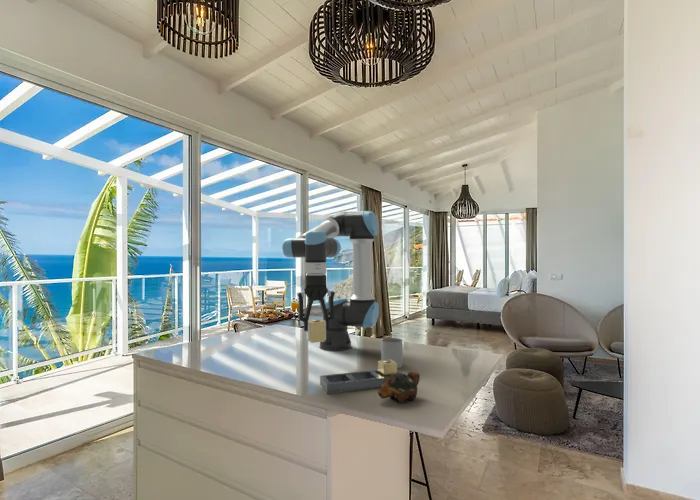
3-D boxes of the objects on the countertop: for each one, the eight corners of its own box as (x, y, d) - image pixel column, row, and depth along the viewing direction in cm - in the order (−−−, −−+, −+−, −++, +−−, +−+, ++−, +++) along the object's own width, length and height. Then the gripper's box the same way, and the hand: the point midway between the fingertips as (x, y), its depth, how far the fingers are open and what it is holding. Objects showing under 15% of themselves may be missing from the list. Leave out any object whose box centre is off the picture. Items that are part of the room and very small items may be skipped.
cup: (401, 368, 153) (401, 342, 153) (380, 367, 155) (380, 342, 155) (403, 362, 162) (402, 338, 162) (383, 361, 163) (382, 337, 163)
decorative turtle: (429, 398, 122) (428, 372, 121) (392, 413, 113) (391, 385, 113) (407, 388, 130) (406, 364, 129) (371, 401, 121) (370, 375, 120)
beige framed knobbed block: (378, 380, 139) (378, 359, 139) (391, 379, 141) (391, 358, 141) (383, 384, 134) (383, 363, 135) (397, 383, 136) (397, 362, 136)
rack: (320, 384, 135) (320, 375, 135) (394, 376, 144) (394, 368, 144) (327, 393, 126) (327, 384, 126) (406, 384, 135) (406, 375, 135)
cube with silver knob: (308, 339, 142) (307, 319, 142) (321, 338, 144) (321, 318, 144) (311, 342, 138) (310, 321, 138) (324, 341, 139) (324, 321, 139)
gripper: (292, 275, 135) (293, 344, 134) (343, 274, 140) (343, 340, 140) (289, 274, 142) (289, 339, 142) (337, 273, 147) (337, 335, 147)
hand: (316, 339), depth 141 cm, fingers closed on cube with silver knob, 5 cm apart
